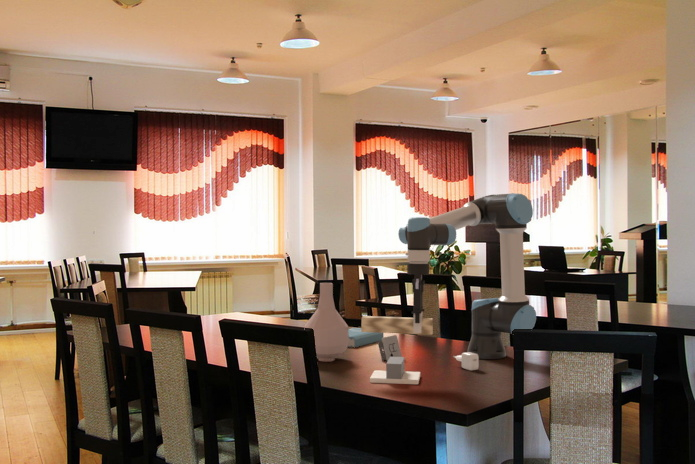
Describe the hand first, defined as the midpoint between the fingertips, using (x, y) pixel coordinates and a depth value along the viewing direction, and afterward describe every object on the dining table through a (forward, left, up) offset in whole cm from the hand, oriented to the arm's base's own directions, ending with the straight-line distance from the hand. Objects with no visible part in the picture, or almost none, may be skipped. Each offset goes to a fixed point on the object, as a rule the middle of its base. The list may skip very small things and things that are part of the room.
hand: (417, 331), depth 219 cm
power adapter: (-16, -22, -17) cm, 32 cm away
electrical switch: (+13, -33, -17) cm, 39 cm away
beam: (+7, 0, 0) cm, 7 cm away
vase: (+38, -28, -17) cm, 50 cm away
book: (+33, -69, -17) cm, 78 cm away
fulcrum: (+8, +1, -16) cm, 18 cm away
